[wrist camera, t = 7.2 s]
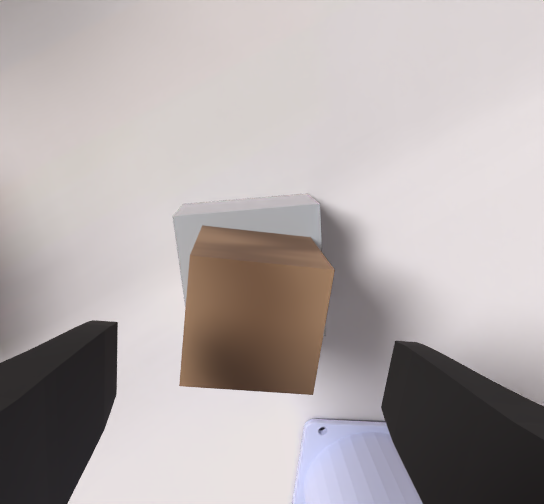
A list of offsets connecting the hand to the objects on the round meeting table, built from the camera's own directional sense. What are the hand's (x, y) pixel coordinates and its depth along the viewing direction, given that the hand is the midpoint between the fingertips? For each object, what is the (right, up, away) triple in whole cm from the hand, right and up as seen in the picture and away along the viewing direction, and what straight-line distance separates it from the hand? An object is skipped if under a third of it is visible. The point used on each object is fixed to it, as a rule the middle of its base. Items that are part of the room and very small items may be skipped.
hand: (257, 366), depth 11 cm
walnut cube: (0, +2, +7) cm, 7 cm away
